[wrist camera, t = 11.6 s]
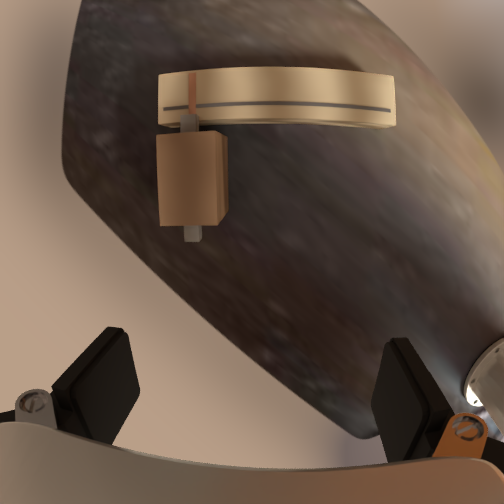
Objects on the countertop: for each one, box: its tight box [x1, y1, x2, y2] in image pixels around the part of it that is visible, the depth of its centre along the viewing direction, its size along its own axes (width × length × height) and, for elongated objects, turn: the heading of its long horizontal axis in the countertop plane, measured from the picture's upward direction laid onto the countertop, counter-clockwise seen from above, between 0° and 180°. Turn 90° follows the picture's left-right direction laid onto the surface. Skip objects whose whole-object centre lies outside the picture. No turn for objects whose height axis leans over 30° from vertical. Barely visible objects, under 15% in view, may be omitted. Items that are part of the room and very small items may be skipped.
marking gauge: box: [156, 114, 229, 242], centre depth 26 cm, size 4×10×7 cm, turn 1°
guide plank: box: [158, 67, 396, 129], centre depth 25 cm, size 20×4×4 cm, turn 91°
